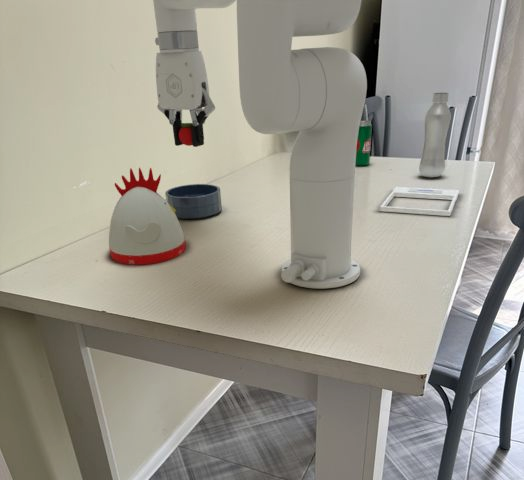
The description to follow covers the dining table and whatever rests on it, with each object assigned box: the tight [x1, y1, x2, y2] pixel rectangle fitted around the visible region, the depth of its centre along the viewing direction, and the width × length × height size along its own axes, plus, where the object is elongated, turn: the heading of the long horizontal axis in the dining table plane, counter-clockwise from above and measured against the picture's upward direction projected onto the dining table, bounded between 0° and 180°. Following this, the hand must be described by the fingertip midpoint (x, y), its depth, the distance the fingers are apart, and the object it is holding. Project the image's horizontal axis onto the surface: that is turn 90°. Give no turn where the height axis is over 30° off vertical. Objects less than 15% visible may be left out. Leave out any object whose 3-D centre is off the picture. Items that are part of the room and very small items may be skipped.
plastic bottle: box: [418, 92, 452, 179], centre depth 130 cm, size 6×7×20 cm
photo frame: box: [379, 186, 460, 217], centre depth 115 cm, size 15×1×18 cm
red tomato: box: [179, 122, 193, 147], centre depth 106 cm, size 4×4×4 cm
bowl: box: [164, 183, 223, 220], centre depth 115 cm, size 12×12×5 cm
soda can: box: [355, 119, 373, 167], centre depth 150 cm, size 5×5×12 cm
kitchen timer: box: [108, 166, 187, 266], centre depth 92 cm, size 14×14×15 cm
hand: (189, 144), depth 107 cm, fingers closed on red tomato, 3 cm apart
